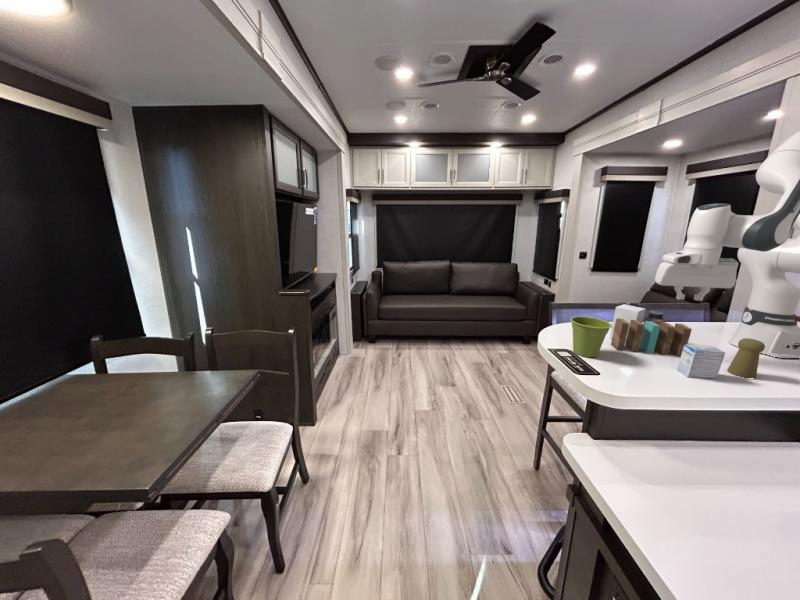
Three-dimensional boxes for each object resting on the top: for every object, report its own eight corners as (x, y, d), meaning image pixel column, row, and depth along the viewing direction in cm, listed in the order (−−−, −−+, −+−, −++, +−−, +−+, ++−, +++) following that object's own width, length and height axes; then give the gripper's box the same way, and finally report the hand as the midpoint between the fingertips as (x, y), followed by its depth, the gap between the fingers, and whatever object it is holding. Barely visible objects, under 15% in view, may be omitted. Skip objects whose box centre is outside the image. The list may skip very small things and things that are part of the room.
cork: (750, 380, 91) (763, 345, 88) (722, 371, 96) (734, 337, 93) (760, 376, 93) (772, 342, 90) (732, 367, 98) (744, 334, 95)
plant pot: (598, 348, 110) (605, 318, 107) (610, 363, 99) (618, 329, 96) (561, 344, 113) (566, 314, 110) (569, 358, 102) (575, 325, 99)
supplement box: (639, 340, 118) (647, 308, 115) (630, 344, 114) (638, 311, 111) (617, 334, 124) (624, 303, 121) (608, 338, 120) (615, 306, 116)
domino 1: (616, 345, 113) (622, 318, 111) (623, 350, 109) (629, 323, 106) (610, 344, 114) (616, 318, 111) (616, 350, 109) (622, 322, 106)
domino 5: (674, 351, 110) (682, 323, 107) (683, 357, 105) (691, 329, 102) (668, 350, 110) (675, 323, 107) (676, 356, 105) (684, 328, 103)
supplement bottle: (647, 337, 122) (654, 309, 119) (663, 343, 116) (671, 314, 113) (635, 338, 120) (642, 310, 117) (651, 344, 114) (659, 315, 111)
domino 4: (659, 349, 111) (667, 322, 108) (668, 355, 106) (675, 327, 103) (653, 348, 111) (660, 322, 108) (661, 354, 106) (668, 326, 104)
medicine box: (704, 372, 95) (712, 345, 93) (717, 379, 91) (726, 352, 88) (676, 370, 96) (683, 343, 93) (687, 377, 91) (695, 350, 89)
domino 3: (645, 348, 112) (652, 321, 109) (653, 353, 107) (660, 326, 104) (639, 347, 112) (645, 320, 109) (646, 353, 107) (653, 325, 105)
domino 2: (631, 346, 112) (637, 320, 110) (637, 352, 108) (644, 324, 105) (624, 345, 113) (631, 319, 110) (631, 351, 108) (638, 324, 105)
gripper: (731, 257, 100) (719, 299, 104) (657, 255, 104) (648, 295, 108) (748, 260, 94) (734, 304, 98) (668, 257, 98) (658, 300, 102)
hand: (688, 299), depth 103 cm, fingers open, 4 cm apart
